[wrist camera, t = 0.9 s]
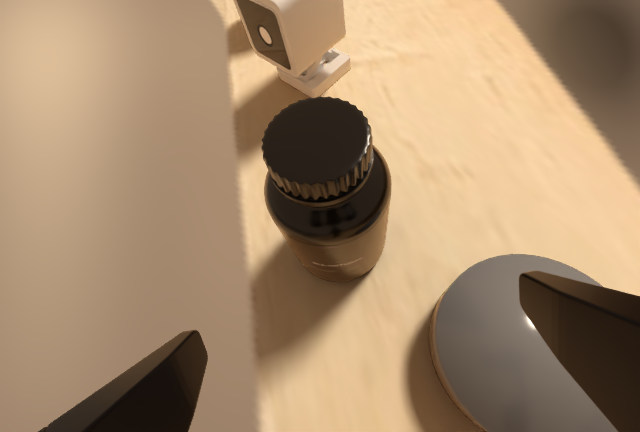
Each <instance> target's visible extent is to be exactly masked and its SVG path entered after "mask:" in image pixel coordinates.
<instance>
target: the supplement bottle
mask: <svg viewBox="0 0 640 432" xmlns="http://www.w3.org/2000/svg"><path fill="white" fill-rule="evenodd" d="M262 142H263V145H262V152H263V159H264V161H265V163H266V165H267V168H268V172H267V175H266V180H265V186H264V195H265V202H266V206H267V209H268V211H269V213H270V215H271V217H272V219H273V221H274V222H275V224H276V225H277V227H278V228H279V230H280V231H281V233H282V234H283V236H284V237H285V239H286V240H287V242H288V243H289V245H290V246H291V248H292V249H293V251H294V252H295V254H296V255H297V257H298V258H299V260H300V261H301V263H302V264H303V265H304V266H305V267H306V268H307V269H308V270H309V271H310V272H311V273H313V274H314V275H316V276H318V277H320V278H322V279H325V280H329V281H336V282H341V281H348V280H352V279H356V278H358V277H360V276H362V275H364V274H365V273H367V272H368V271H369V270H370V269H371V268H372V267H373V266H374V265H375V264H376V263H377V261H378V260H379V258H380V256H381V254H382V251H383V248H384V244H385V238H386V230H387V222H388V213H389V205H390V197H391V175H390V171H389V168H388V165H387V163H386V161H385V159H384V157H383V156H382V154H381V153H380V152H379V150H378V149H377V148H376V147H375V146H374V145H373V144H372V135H371V127H370V125H369V124H368V119H367V118H366V117H365V116H363V112H362V111H360V110H358V109H357V107H356V106H355V105H352V104H350V103H349V102H348V101H342V100H341V99H339V98H331V97H316V98H308V99H306V100H300V101H298V102H297V103H295V104H291V105H289V106H288V107H287V108H285V109H283V110H282V111H281V112H280V113H279V114H278V115H276V116H275V117H274V119H273V121H271V122H270V123H269V125H268V128H267V129H266V130H265V136H264V137H263V139H262Z"/></svg>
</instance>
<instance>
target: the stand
mask: <svg viewBox="0 0 640 432" xmlns="http://www.w3.org/2000/svg"><path fill="white" fill-rule="evenodd" d="M529 271H542V272H546V273H550V274H553V275H557V276H561V277H565V278H569V279H573V280H577V281H581V282H585V283H589V284H593V285H597V286H601V285H600V284H599V283H598V282H596V281H595V280H593V279H592V278H590V277H589V276H587V275H586V274H584V273H582V272H580V271H578V270H577V269H575V268H573V267H570V266H568V265H566V264H563V263H561V262H558V261H555V260H552V259H549V258H544V257H540V256H534V255H525V254H510V255H502V256H497V257H493V258H489V259H486V260H484V261H481V262H479V263H477V264H475V265H473V266H472V267H470V268H468V269H467V270H466V271H465V272H463V273H462V274H461V275H460V276H459V277H458V278H457V279H456V280H455V281H454V282H453V283H452V284H451V286H450V287H449V288H448V289H447V290H446V291H445V292H444V293H443V295H442V296H441V297H440V299H439V300H438V302H437V304H436V306H435V309H434V311H433V315H432V318H431V323H430V329H429V343H430V352H431V356H432V361H433V364H434V367H435V370H436V373H437V375H438V377H439V379H440V381H441V384H442V386H443V387H444V389H445V390H446V392H447V394H448V395H449V397H450V398H451V399H452V401H453V402H454V403H455V404H456V406H457V407H458V408H459V409H460V410H461V411H462V412H463V413H464V414H465V415H466V416H467V417H468V418H469V419H470V420H471V421H472V422H474V423H475V424H476V425H477V426H479V427H480V428H482V429H483V430H485V431H486V432H618V431H617V430H616V429H615V427H614V426H613V425H612V424H611V423H610V422H609V420H608V419H607V418H606V417H605V416H604V414H603V413H602V412H601V411H600V410H599V408H598V407H597V406H596V405H595V404H594V403H593V401H592V400H591V399H590V398H589V397H588V395H587V394H586V393H585V392H584V391H583V390H582V388H581V387H580V386H579V385H578V384H577V382H576V381H575V380H574V379H573V378H572V377H571V375H570V374H569V373H568V372H567V371H566V369H565V368H564V367H563V366H562V365H561V363H560V362H559V361H558V360H557V358H556V357H555V355H554V354H553V353H552V351H551V350H550V348H549V347H548V346H547V344H546V343H545V341H544V340H543V338H542V337H541V335H540V334H539V332H538V331H537V330H536V328H535V327H534V325H533V324H532V322H531V321H530V319H529V318H528V317H527V315H526V314H525V312H524V311H523V309H522V307H521V305H520V301H519V275H520V274H521V273H524V272H529ZM601 287H603V286H601Z"/></svg>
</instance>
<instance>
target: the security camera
mask: <svg viewBox="0 0 640 432" xmlns="http://www.w3.org/2000/svg"><path fill="white" fill-rule="evenodd" d="M234 3H235V5H236V8H237V10H238V13H239V16H240V18H241V21H242V23H243V26H244V28H245V31H246V33H247V36H248V39H249V41H250V44H251V46H252V48H253V50H254V52H255V53H256V54H257V55H258V56H259V57H261V58H263V59H264V60H266V61H268V62H270V63H271V64H273V65H275V66H276V67H277V71H278V74H279V77H280V79H281V80H283V81H284V82H286V83H288V84H289V85H291V86H293V87H294V88H296V89H298V90H299V91H301V92H303V93H304V94H306V95H308V96H309V97H311V98H316V97H319V96H320V95H321V94H323V93H324V92H325V91H326V90H327V89H328V88H329V87H331V86H332V85H333V84H334V83H335V82H336V81H337V80H338V79H340V78H341V77H342V76H343V75H344V74H345V73H346V72H347V71H349V70H350V69H351V62H350V56H349V55H347V54H345V53H343V52H341V51H339V50H337V49H335V48H333V49H330V48H332V47H333V46H334V45H335V44H336V43H337V42H339V41H340V40H341V39H342V38H344V37H345V35H346V30H345V19H344V8H343V0H234ZM328 60H329V61H328ZM326 61H328V62H327V63H326V65H323V63H325V62H326Z"/></svg>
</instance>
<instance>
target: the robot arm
mask: <svg viewBox="0 0 640 432" xmlns="http://www.w3.org/2000/svg"><path fill="white" fill-rule="evenodd" d="M519 301H520V305H521V307H522V309H523V311H524V312H525V314H526V315H527V317H528V318H529V319H530V321H531V322H532V324H533V325H534V327H535V328H536V330H537V331H538V332H539V334H540V335H541V337H542V338H543V340H544V341H545V343H546V344H547V346H548V347H549V348H550V350H551V351H552V353H553V354H554V355H555V357H556V358H557V360H558V361H559V362H560V363H561V365H562V366H563V367H564V368H565V369H566V371H567V372H568V373H569V374H570V375H571V377H572V378H573V379H574V380H575V381H576V382H577V384H578V385H579V386H580V387H581V388H582V390H583V391H584V392H585V393H586V394H587V395H588V397H589V398H590V399H591V400H592V401H593V403H594V404H595V405H596V406H597V407H598V408H599V410H600V411H601V412H602V413H603V414H604V416H605V417H606V418H607V419H608V420H609V422H610V423H611V424H612V425H613V426H614V427H615V429H616V430H617V431H618V432H640V296H636V295H632V294H628V293H624V292H620V291H616V290H612V289H609V288H605V287H601V286H597V285H593V284H589V283H585V282H581V281H577V280H573V279H569V278H565V277H561V276H557V275H553V274H550V273H546V272H542V271H529V272H524V273H521V274H520V275H519ZM207 359H208V355H207V351H206V348H205V346H204V344H203V341H202V338H201V336H200V333H199V332H198V331H197V330H191V331H185V332H182V333H180V334H179V335H177V336H176V337H175V338H173V339H172V340H170V341H169V342H167V343H166V344H164V345H163V346H161V347H160V348H159V349H157V350H156V351H154V352H153V353H151V354H150V355H148V356H147V357H146V358H144V359H143V360H141V361H140V362H138V363H137V364H135V365H134V366H132V367H131V368H130V369H128V370H127V371H125V372H124V373H122V374H121V375H120V376H118V377H117V378H115V379H114V380H112V381H111V382H109V383H108V384H106V385H105V386H104V387H102V388H101V389H99V390H98V391H96V392H95V393H94V394H92V395H91V396H89V397H88V398H86V399H85V400H83V401H82V402H81V403H79V404H78V405H76V406H75V407H73V408H72V409H70V410H69V411H67V412H66V413H65V414H63V415H62V416H60V417H59V418H58V419H56V420H54V421H53V422H52V423H50V424H49V425H48V427H44V428H43V429H41V430H40V431H38V432H188V430H189V428H190V425H191V422H192V419H193V416H194V412H195V409H196V405H197V401H198V397H199V393H200V389H201V385H202V381H203V377H204V373H205V369H206V365H207Z"/></svg>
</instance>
